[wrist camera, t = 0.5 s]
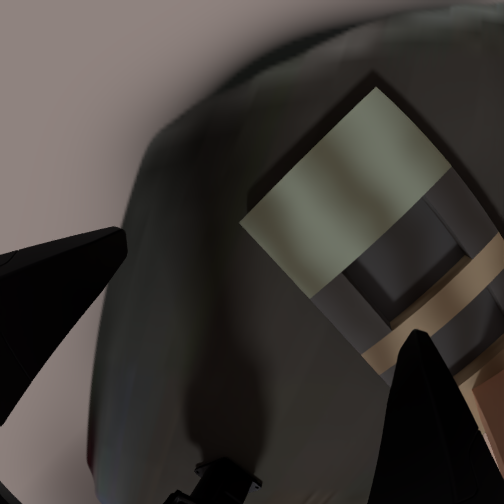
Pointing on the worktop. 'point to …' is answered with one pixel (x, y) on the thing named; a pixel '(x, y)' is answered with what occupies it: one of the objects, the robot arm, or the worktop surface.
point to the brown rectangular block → (492, 414)
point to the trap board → (390, 245)
